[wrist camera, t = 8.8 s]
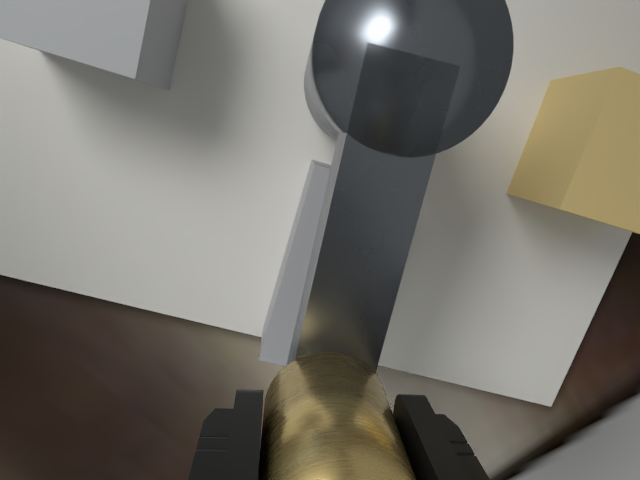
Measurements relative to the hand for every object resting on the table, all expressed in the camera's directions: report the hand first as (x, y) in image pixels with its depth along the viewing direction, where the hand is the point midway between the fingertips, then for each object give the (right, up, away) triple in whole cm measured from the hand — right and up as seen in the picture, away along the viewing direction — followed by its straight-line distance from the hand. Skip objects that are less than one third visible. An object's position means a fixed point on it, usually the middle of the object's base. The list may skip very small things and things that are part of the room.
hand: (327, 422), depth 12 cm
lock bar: (+1, +6, +2) cm, 6 cm away
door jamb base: (+1, +9, +8) cm, 12 cm away
